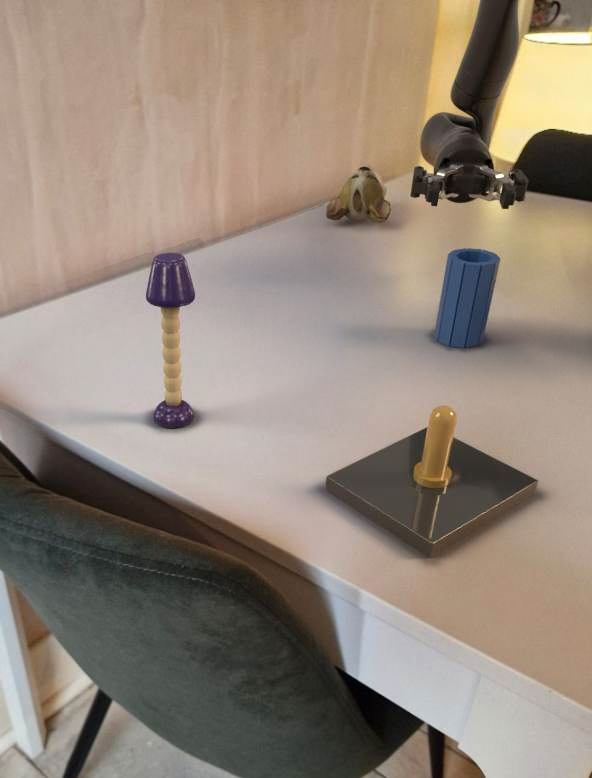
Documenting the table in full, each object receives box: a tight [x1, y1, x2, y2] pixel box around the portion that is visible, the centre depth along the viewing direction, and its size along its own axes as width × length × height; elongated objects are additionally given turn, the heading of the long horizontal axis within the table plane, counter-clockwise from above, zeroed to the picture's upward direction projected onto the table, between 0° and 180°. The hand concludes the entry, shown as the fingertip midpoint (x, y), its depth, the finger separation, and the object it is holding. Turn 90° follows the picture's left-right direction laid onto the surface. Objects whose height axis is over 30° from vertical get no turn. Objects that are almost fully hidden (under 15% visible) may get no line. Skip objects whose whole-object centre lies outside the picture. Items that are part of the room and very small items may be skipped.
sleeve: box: [433, 247, 501, 349], centre depth 90 cm, size 6×6×10 cm
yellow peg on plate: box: [324, 404, 539, 558], centre depth 65 cm, size 14×12×9 cm
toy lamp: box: [145, 252, 196, 429], centre depth 74 cm, size 5×5×17 cm
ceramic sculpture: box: [325, 163, 392, 224], centre depth 130 cm, size 11×9×15 cm
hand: (471, 199), depth 94 cm, fingers open, 8 cm apart
